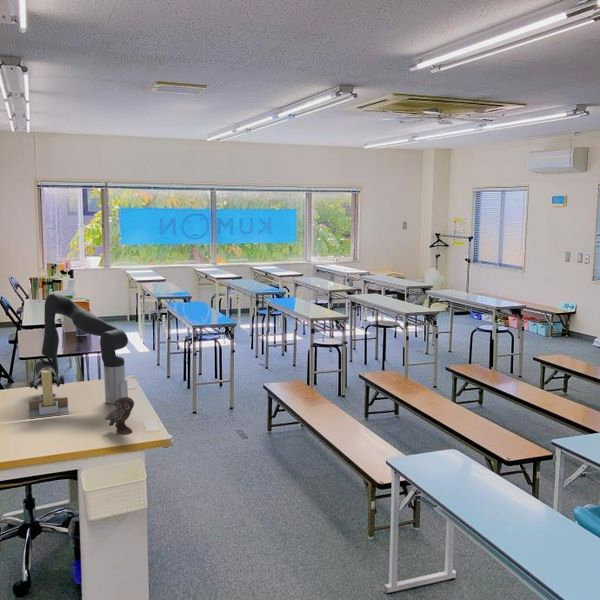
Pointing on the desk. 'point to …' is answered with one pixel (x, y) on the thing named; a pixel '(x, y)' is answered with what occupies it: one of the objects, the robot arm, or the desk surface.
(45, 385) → the post
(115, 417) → the figurine
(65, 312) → the robot arm
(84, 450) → the desk surface
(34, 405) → the plate
